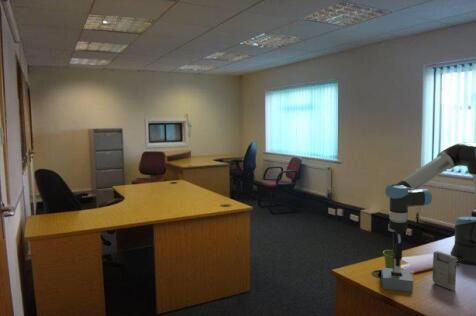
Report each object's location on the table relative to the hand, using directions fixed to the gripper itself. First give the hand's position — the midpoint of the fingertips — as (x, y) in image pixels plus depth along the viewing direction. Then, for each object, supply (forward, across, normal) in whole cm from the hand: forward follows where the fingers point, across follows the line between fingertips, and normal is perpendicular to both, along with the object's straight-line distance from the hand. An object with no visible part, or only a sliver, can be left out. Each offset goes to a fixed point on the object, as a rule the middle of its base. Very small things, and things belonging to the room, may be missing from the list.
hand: (396, 270), depth 166 cm
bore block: (+7, 0, 0) cm, 7 cm away
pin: (+4, 0, 0) cm, 4 cm away
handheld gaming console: (+7, -4, +20) cm, 21 cm away
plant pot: (+7, -17, 0) cm, 18 cm away
